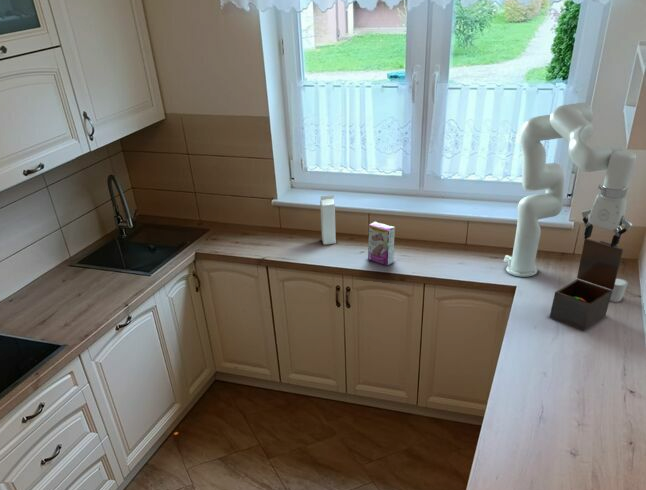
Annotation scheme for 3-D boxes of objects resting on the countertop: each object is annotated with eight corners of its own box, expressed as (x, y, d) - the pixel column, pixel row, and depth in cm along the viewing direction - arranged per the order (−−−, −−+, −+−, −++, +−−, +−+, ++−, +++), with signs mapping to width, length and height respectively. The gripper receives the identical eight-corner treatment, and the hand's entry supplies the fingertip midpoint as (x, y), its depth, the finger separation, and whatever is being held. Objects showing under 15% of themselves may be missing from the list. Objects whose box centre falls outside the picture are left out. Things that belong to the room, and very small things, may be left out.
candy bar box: (367, 260, 267) (367, 224, 257) (374, 256, 270) (374, 221, 260) (387, 266, 261) (388, 230, 251) (394, 262, 264) (395, 226, 254)
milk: (321, 240, 288) (319, 194, 275) (333, 238, 288) (332, 193, 275) (323, 244, 283) (321, 198, 270) (336, 243, 284) (334, 197, 270)
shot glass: (624, 302, 225) (629, 286, 221) (605, 301, 227) (610, 285, 222) (621, 294, 231) (626, 278, 226) (602, 293, 232) (606, 277, 228)
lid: (622, 249, 201) (630, 244, 203) (584, 239, 210) (592, 233, 212) (612, 290, 211) (619, 284, 214) (576, 278, 220) (584, 272, 222)
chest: (584, 330, 211) (591, 304, 205) (549, 317, 219) (555, 292, 213) (605, 316, 218) (612, 290, 212) (571, 303, 227) (577, 278, 220)
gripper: (583, 188, 197) (571, 237, 207) (633, 201, 186) (618, 252, 197) (595, 182, 200) (582, 231, 211) (645, 195, 190) (629, 245, 200)
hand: (600, 241), depth 204 cm, fingers open, 9 cm apart
